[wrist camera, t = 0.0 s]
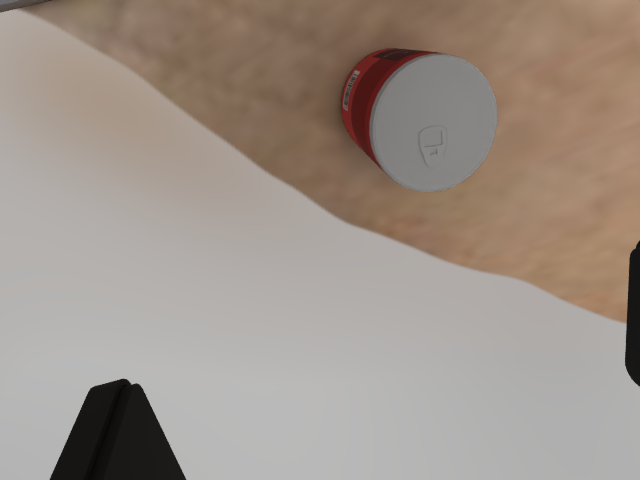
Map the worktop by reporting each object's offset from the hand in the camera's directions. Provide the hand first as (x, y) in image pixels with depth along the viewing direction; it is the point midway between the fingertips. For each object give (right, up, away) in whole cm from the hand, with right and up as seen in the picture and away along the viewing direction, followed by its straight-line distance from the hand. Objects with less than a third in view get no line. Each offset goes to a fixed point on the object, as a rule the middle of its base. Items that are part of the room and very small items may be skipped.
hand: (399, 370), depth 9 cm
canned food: (+4, +13, +29) cm, 32 cm away
